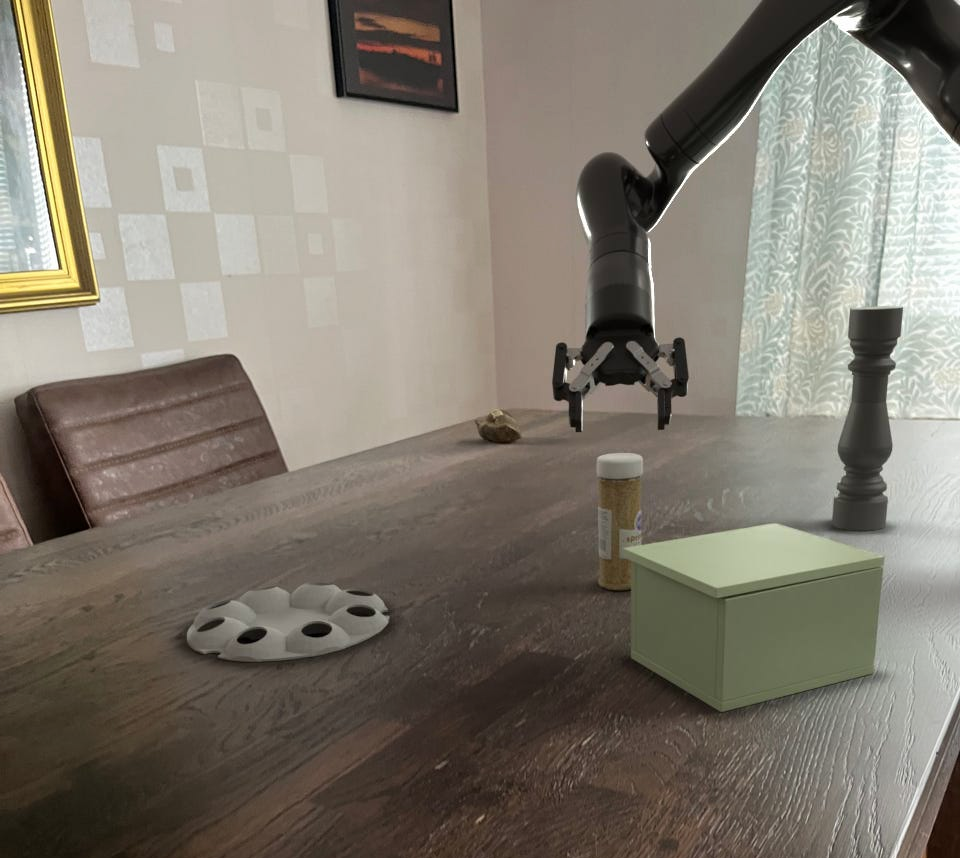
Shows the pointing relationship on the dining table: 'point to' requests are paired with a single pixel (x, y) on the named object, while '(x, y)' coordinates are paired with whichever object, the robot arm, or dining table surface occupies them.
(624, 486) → the sprinkles bottle
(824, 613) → the chest
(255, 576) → the dining table surface
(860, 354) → the candle holder
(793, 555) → the lid
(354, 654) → the dining table surface
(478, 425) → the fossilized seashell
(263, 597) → the round palette
